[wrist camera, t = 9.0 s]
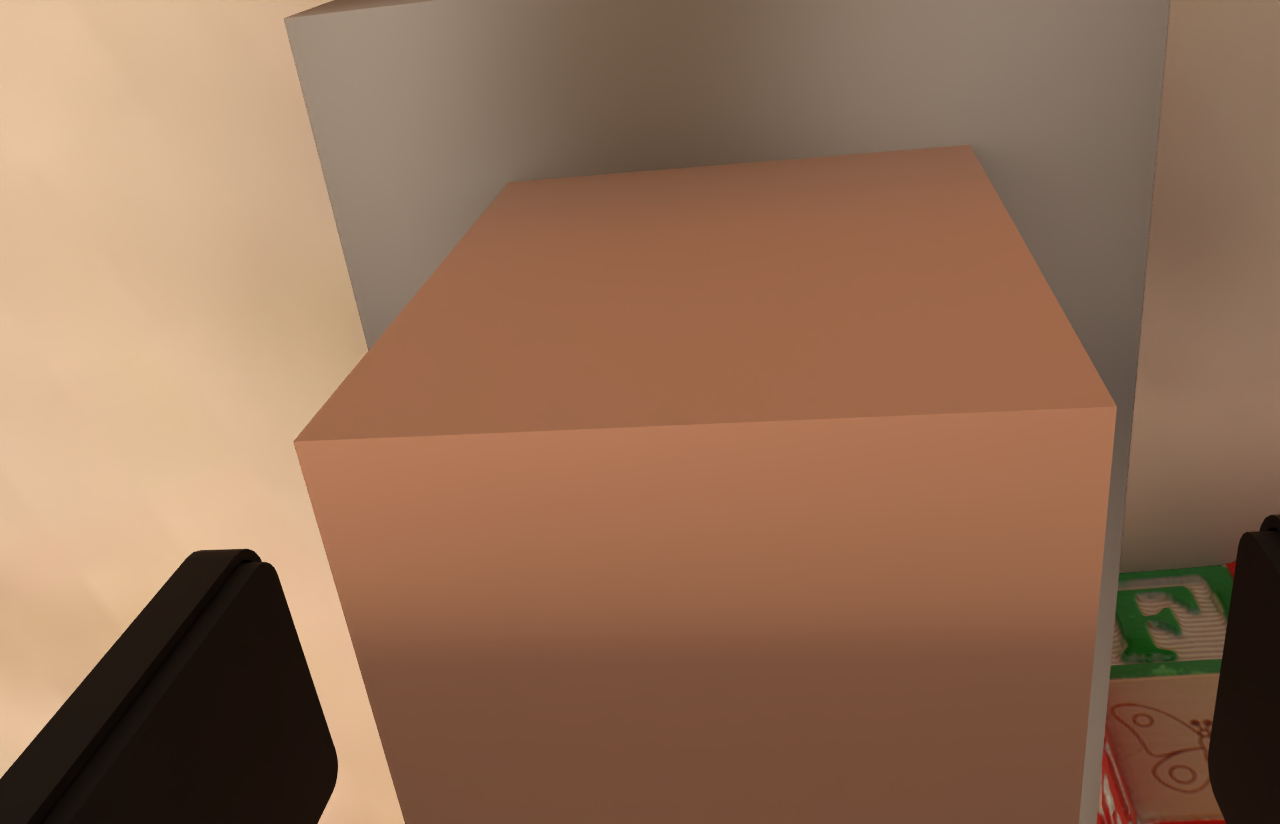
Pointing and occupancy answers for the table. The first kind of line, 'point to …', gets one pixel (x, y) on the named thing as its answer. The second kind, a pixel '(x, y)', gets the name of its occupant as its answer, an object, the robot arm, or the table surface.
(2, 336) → the table surface
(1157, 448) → the table surface
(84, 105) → the table surface
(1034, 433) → the terracotta brick
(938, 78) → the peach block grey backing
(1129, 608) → the stack of blocks
